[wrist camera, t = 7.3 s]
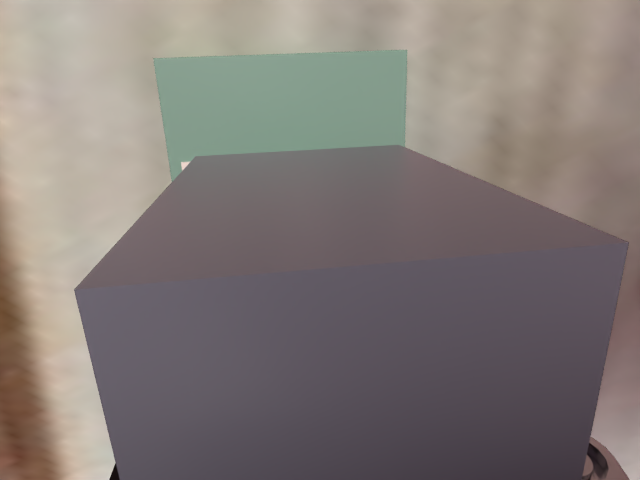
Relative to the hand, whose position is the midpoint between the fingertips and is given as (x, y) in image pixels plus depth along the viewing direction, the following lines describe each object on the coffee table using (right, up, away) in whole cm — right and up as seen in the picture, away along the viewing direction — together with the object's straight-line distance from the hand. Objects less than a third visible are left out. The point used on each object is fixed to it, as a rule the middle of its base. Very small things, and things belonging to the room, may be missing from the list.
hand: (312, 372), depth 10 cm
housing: (0, 0, 0) cm, 1 cm away
